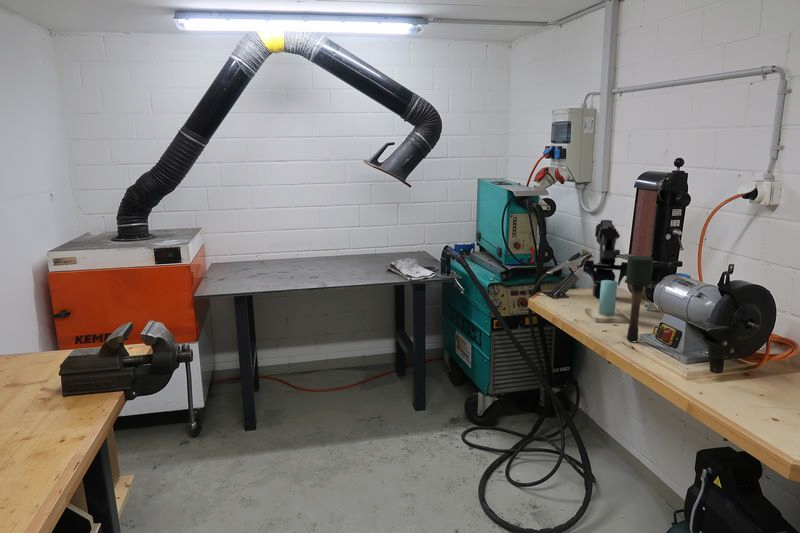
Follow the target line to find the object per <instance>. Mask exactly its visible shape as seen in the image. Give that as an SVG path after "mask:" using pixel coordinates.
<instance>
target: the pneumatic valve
mask: <svg viewBox="0 0 800 533" xmlns="http://www.w3.org/2000/svg"><path fill="white" fill-rule="evenodd" d="M642 300H643V301H645V303H644V309H645V310H648V311H649V312H653V311H655V312H656V311H658V308H657V307H656V306H655V305H654V303H653V302H650V301H648V300H645V299H643V298H642V299H641V301H642Z"/></svg>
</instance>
